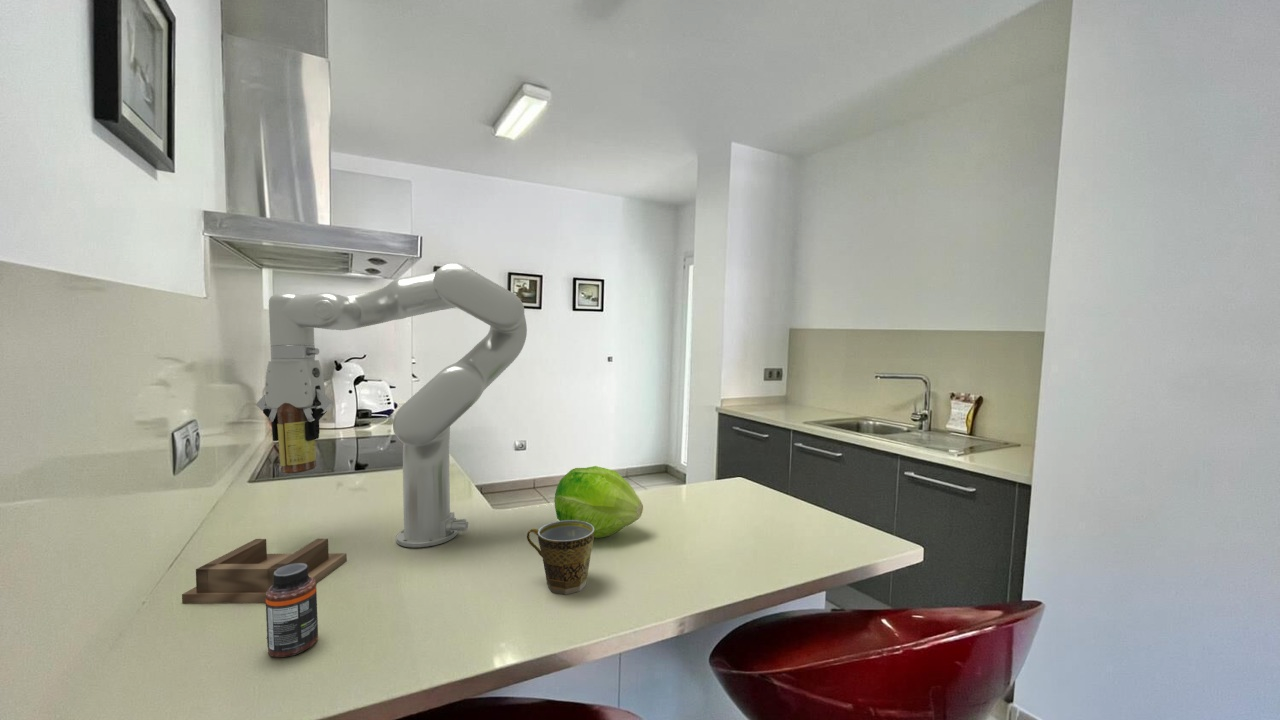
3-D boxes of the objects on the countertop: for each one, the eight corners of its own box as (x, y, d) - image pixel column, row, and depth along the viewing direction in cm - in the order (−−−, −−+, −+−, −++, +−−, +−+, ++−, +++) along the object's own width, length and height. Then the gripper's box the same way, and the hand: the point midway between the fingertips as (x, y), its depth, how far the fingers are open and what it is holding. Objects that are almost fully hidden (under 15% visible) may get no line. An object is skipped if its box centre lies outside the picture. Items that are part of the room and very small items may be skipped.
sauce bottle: (323, 467, 106) (320, 375, 106) (299, 475, 100) (296, 377, 100) (296, 466, 107) (293, 375, 107) (270, 474, 101) (267, 377, 100)
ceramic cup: (603, 577, 91) (603, 523, 91) (579, 604, 82) (579, 544, 81) (541, 567, 95) (541, 515, 95) (512, 591, 86) (511, 534, 86)
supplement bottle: (284, 635, 73) (282, 560, 73) (326, 633, 74) (324, 558, 73) (256, 661, 67) (254, 579, 67) (303, 658, 68) (300, 577, 67)
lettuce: (625, 563, 102) (629, 494, 99) (538, 542, 108) (540, 477, 105) (648, 525, 118) (652, 465, 115) (571, 509, 123) (573, 452, 121)
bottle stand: (346, 560, 99) (346, 533, 98) (289, 602, 83) (289, 570, 82) (256, 561, 99) (255, 533, 98) (182, 603, 83) (181, 570, 82)
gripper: (345, 353, 106) (347, 436, 107) (267, 354, 107) (270, 436, 108) (321, 354, 99) (324, 443, 99) (237, 355, 100) (241, 443, 100)
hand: (296, 439), depth 104 cm, fingers closed on sauce bottle, 6 cm apart
